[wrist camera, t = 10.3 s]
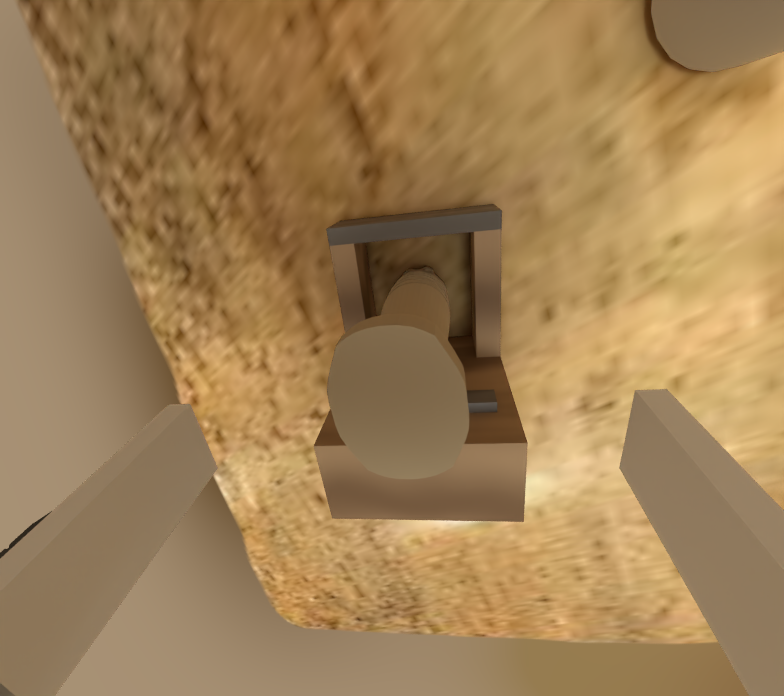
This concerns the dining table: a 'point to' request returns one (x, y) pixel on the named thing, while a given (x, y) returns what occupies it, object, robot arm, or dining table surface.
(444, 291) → the handle
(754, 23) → the can
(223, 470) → the dining table surface
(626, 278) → the dining table surface
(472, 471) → the wooden stand
